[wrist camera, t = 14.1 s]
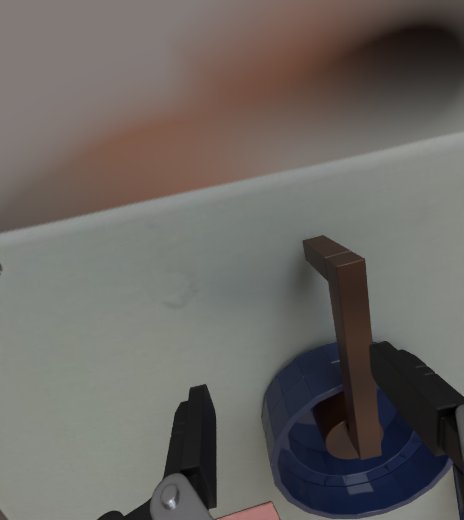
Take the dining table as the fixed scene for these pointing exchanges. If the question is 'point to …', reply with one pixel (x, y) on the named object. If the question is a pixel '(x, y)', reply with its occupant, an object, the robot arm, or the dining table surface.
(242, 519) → the cloth
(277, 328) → the dining table surface
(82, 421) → the dining table surface
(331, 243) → the ladle
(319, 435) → the bowl
